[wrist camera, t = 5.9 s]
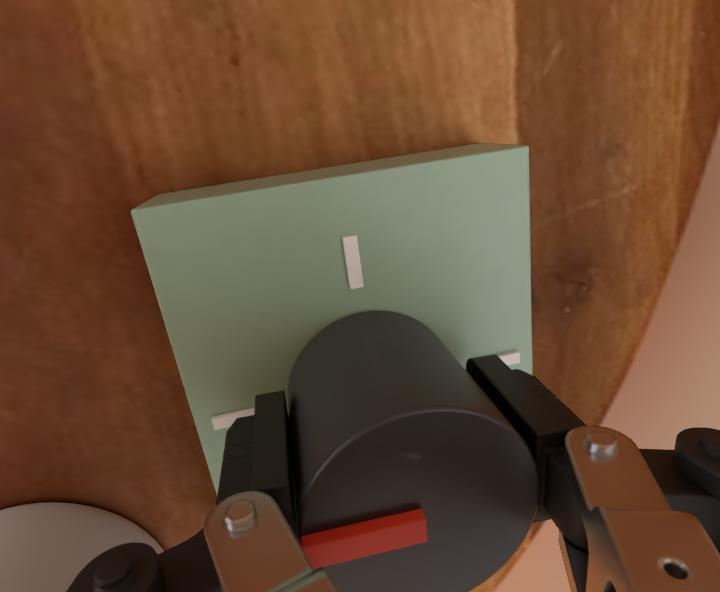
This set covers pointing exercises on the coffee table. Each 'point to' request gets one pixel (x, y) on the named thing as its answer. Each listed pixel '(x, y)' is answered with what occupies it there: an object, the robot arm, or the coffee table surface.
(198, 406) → the panel
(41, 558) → the mug
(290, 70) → the coffee table surface
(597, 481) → the robot arm
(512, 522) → the dial
